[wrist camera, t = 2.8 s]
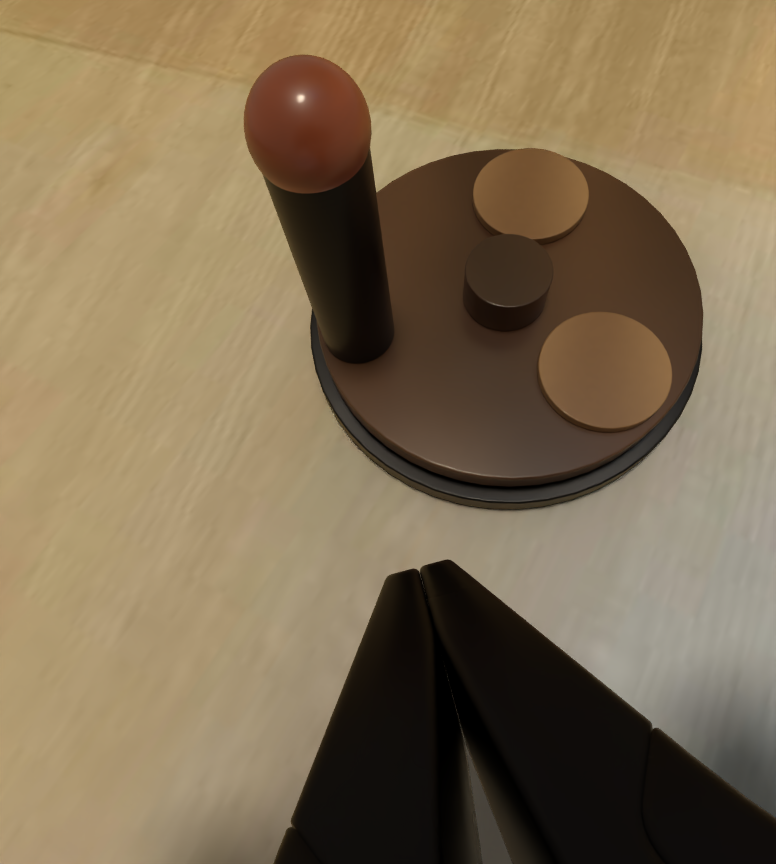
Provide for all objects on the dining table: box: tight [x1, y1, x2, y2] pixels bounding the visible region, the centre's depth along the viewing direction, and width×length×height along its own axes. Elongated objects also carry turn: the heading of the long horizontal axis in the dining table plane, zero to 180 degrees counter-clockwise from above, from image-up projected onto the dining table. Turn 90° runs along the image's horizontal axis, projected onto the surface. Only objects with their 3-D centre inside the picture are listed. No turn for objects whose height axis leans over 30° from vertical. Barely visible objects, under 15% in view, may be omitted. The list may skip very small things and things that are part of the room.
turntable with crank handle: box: [244, 55, 703, 487], centre depth 17 cm, size 14×14×11 cm
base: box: [310, 309, 702, 509], centre depth 23 cm, size 15×15×1 cm
